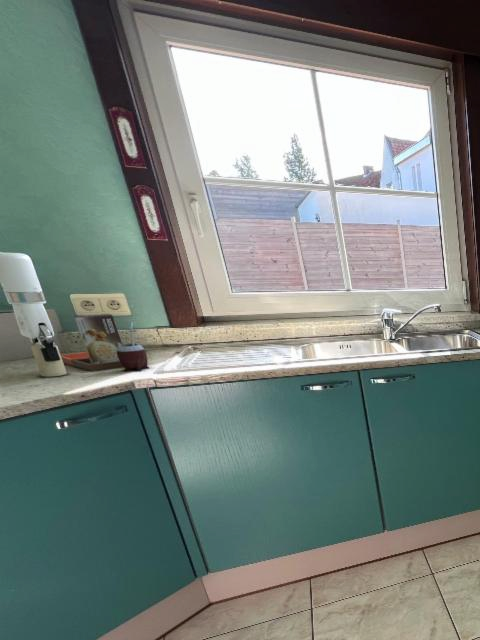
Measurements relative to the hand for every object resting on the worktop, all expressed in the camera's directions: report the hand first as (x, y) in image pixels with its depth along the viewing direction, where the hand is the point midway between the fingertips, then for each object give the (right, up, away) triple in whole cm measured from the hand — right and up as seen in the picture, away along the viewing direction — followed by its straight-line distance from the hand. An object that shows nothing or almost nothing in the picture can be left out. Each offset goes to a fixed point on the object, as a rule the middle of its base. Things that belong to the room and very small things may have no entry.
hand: (48, 358), depth 150 cm
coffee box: (+2, +1, +16) cm, 17 cm away
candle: (0, -5, +2) cm, 5 cm away
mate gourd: (+15, -1, +13) cm, 20 cm away
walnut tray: (+3, +1, +17) cm, 17 cm away
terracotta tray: (-10, +4, +23) cm, 25 cm away
